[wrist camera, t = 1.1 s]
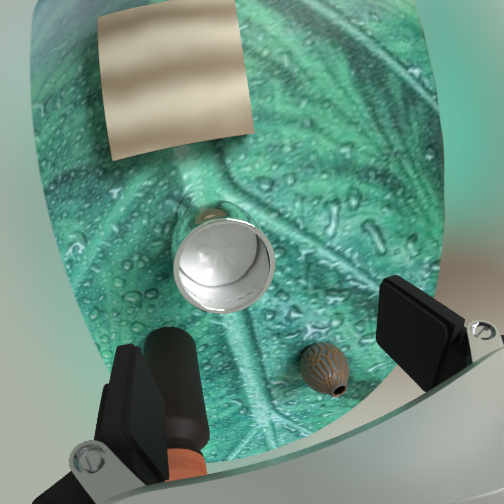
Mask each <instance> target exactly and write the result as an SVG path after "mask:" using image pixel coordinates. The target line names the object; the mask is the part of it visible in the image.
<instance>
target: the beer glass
mask: <svg viewBox="0 0 504 504" xmlns="http://www.w3.org/2000/svg"><path fill="white" fill-rule="evenodd" d="M171 259H172V265H173V272H174V278H175V282H176V285H177V287H178V289H179V291H180V293H181V294H182V295H183V297H184V298H185V299H186V300H187V301H188V302H189V303H191V304H192V305H193V306H195V307H197V308H199V309H201V310H203V311H206V312H210V313H217V314H226V313H233V312H237V311H240V310H242V309H245V308H247V307H249V306H250V305H252V304H253V303H255V302H256V301H257V300H258V299H259V298H260V297H261V296H262V295H263V294H264V293H265V292H266V290H267V289H268V287H269V285H270V283H271V281H272V279H273V276H274V271H275V255H274V251H273V248H272V245H271V243H270V241H269V240H268V238H267V237H266V236H265V234H264V233H263V231H262V230H261V228H260V227H259V225H258V224H257V223H256V221H255V220H254V219H253V218H252V217H251V216H250V215H249V214H248V213H247V212H246V211H245V210H244V209H242V208H241V207H239V206H238V205H236V204H234V203H232V202H229V201H228V199H227V198H226V197H225V196H224V195H223V194H222V193H220V192H219V191H217V190H214V189H210V188H201V189H197V190H194V191H192V192H190V193H189V194H187V195H186V196H185V197H184V198H183V200H182V201H181V203H180V205H179V207H178V211H177V223H176V225H175V228H174V231H173V235H172V241H171Z"/></svg>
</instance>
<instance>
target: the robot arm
mask: <svg viewBox="0 0 504 504" xmlns="http://www.w3.org/2000/svg"><path fill="white" fill-rule="evenodd" d="M464 322H465V319H464V318H462V317H461V316H459V315H458V314H456V313H455V312H453V311H452V310H450V309H448V308H447V307H446V306H444V305H443V304H441V303H440V302H438V301H437V300H435V299H434V298H432V297H431V296H429V295H428V294H426V293H425V292H423V291H422V290H420V289H419V288H417V287H415V286H414V285H412V284H411V283H409V282H408V281H406V280H404V279H403V278H401V277H400V276H398V275H393V276H390V277H387V278H385V279H383V281H382V283H381V284H380V289H379V305H378V318H377V329H376V341H377V343H378V345H379V346H380V347H381V348H382V349H383V350H384V351H385V352H386V353H387V354H388V355H389V356H390V357H391V358H392V359H393V360H394V361H395V362H396V363H397V364H398V365H399V366H400V367H401V368H402V369H403V370H404V371H405V372H406V373H407V374H408V375H409V376H410V377H411V378H412V379H413V380H414V381H415V382H416V383H417V384H418V385H419V387H421V389H422V390H423V391H425V392H426V393H425V394H423V395H421V396H420V397H418V398H416V399H414V400H413V401H410V402H409V403H407V404H405V405H403V406H402V407H399V408H397V409H396V410H394V411H392V412H390V413H388V414H386V415H384V416H382V417H380V418H378V419H376V420H373V421H371V422H369V423H367V424H365V425H363V426H361V427H358V428H356V429H354V430H352V431H349V432H347V433H344V434H342V435H340V436H337V437H335V438H332V439H330V440H327V441H325V442H322V443H319V444H316V445H313V446H311V447H308V448H305V449H302V450H299V451H296V452H294V453H290V454H287V455H284V456H281V457H277V458H274V459H270V460H267V461H263V462H260V463H256V464H252V465H248V466H244V467H240V468H236V469H231V470H227V471H223V472H218V473H213V474H208V475H202V476H197V477H191V478H185V479H179V480H174V481H168V482H165V480H169V465H168V452H167V436H166V415H165V402H164V399H163V397H162V395H161V392H160V390H159V388H158V386H157V384H156V382H155V380H154V378H153V376H152V374H151V371H150V369H149V367H148V365H147V363H146V360H145V358H144V356H143V353H142V351H141V349H140V347H139V346H137V347H135V346H134V344H132V343H131V344H125V345H120V346H117V349H116V353H115V358H114V362H113V367H112V371H111V376H110V381H109V384H105V386H104V388H103V392H102V397H101V402H100V407H99V413H98V418H97V424H96V430H95V436H94V440H93V441H92V440H89V441H85V442H83V443H81V444H79V445H78V446H76V447H75V448H74V449H73V451H72V452H71V454H70V457H69V466H70V469H71V471H70V472H69V473H68V474H67V475H65V476H64V477H63V478H62V479H60V480H59V481H58V482H56V483H55V484H54V485H53V486H51V487H50V488H49V489H48V490H46V491H45V492H44V493H43V494H41V495H40V496H38V497H37V498H36V499H35V500H34V501H33V502H32V504H504V335H500V332H499V330H498V328H497V327H496V326H495V325H494V324H493V323H491V322H489V321H486V320H474V321H471V322H470V323H469V324H468V326H467V328H466V327H464Z"/></svg>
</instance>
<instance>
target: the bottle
mask: <svg viewBox="0 0 504 504" xmlns="http://www.w3.org/2000/svg"><path fill="white" fill-rule="evenodd" d="M144 358H145V360H146V363H147V365H148V367H149V369H150V371H151V374H152V376H153V378H154V380H155V382H156V384H157V386H158V388H159V390H160V392H161V395H162V397H163V399H164V402H165V415H166V436H167V452H168V465H169V480H165V482H168V481H174V480H179V479H185V478H191V477H197V476H202V475H207V470H206V464H205V459H204V457H203V454H202V453H201V451H200V450H201V449H202V448H204V447H205V446H206V444H207V442H208V441H209V438H210V431H209V425H208V420H207V414H206V409H205V403H204V397H203V391H202V385H201V379H200V372H199V366H198V359H197V352H196V345H195V342H194V340H193V338H192V337H191V336H190V335H189V334H188V333H187V332H185V331H184V330H182V329H179V328H176V327H163V328H159V329H156V330H155V331H153V332H152V333H151V334H150V335H149V336H148V337H147V339H146V342H145V347H144Z"/></svg>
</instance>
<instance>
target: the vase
mask: <svg viewBox="0 0 504 504" xmlns="http://www.w3.org/2000/svg"><path fill="white" fill-rule="evenodd" d="M299 366H300V373H301V376H302V378H303V380H304V381H305V383H306V384H307V385H308V386H309V387H310V388H311V389H313V390H314V391H316V392H319V393H324V394H329V395H331V396H333V397H338V396H341V395H342V394H344V393H345V392H346V390H347V380H348V376H349V364H348V361H347V359H346V357H345V355H344V354H343V352H342V351H341V350H340V349H339V348H338V347H336V346H335V345H333V344H330V343H326V342H320V343H316V344H313V345H311V346H309V347H308V348H307V349H306V350H305V351H304V353H303V354H302V356H301V359H300V364H299Z"/></svg>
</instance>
